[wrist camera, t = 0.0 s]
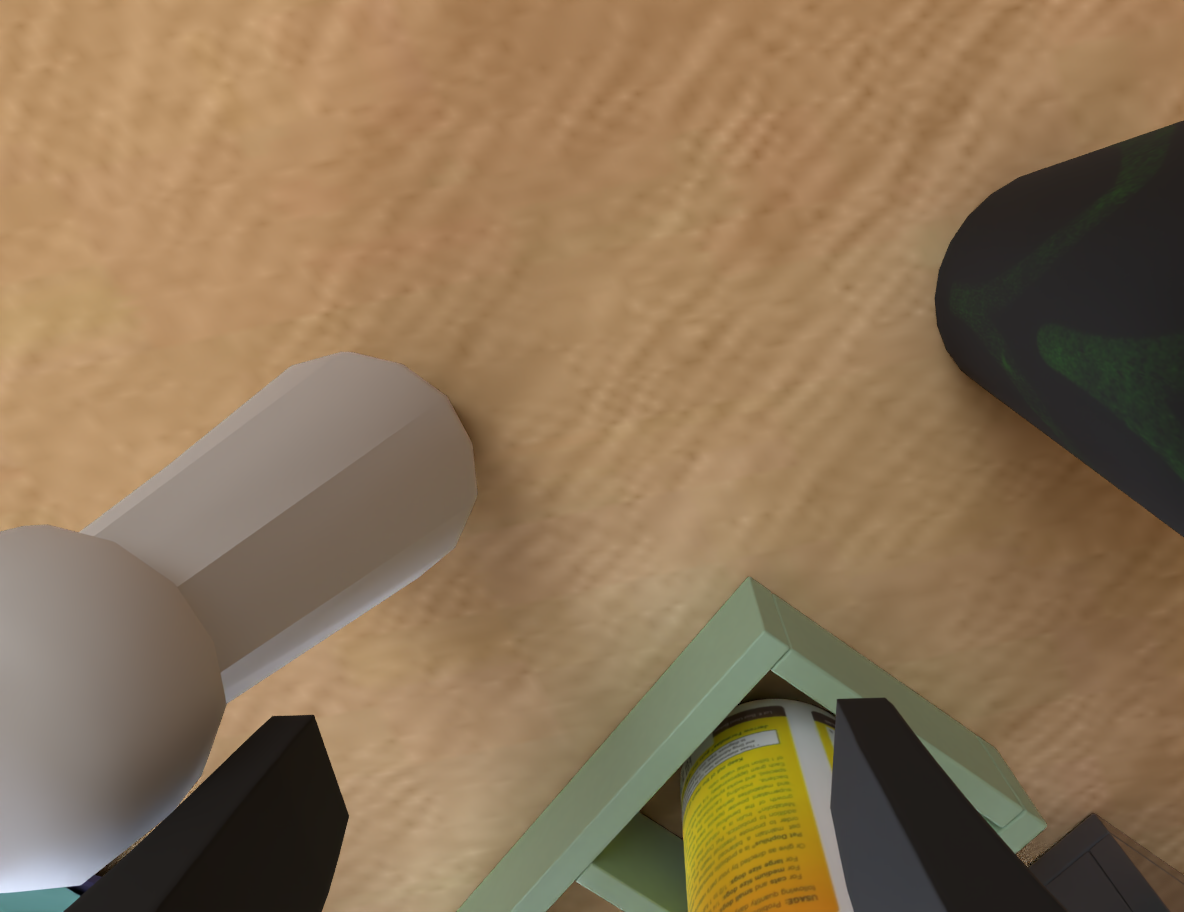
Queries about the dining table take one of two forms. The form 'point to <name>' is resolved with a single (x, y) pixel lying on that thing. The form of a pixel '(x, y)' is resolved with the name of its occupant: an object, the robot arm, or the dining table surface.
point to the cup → (1083, 310)
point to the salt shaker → (207, 598)
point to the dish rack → (680, 725)
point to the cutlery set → (44, 898)
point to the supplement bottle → (763, 813)
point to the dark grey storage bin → (1108, 872)
